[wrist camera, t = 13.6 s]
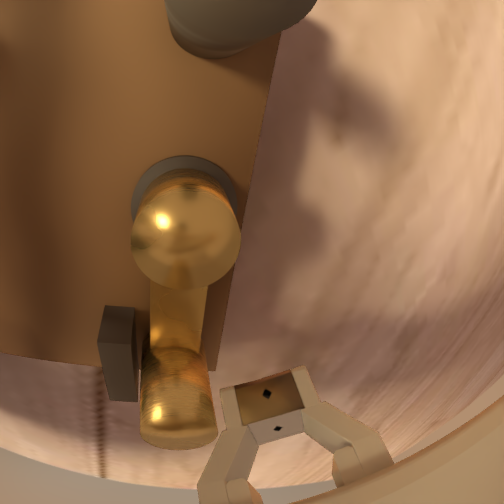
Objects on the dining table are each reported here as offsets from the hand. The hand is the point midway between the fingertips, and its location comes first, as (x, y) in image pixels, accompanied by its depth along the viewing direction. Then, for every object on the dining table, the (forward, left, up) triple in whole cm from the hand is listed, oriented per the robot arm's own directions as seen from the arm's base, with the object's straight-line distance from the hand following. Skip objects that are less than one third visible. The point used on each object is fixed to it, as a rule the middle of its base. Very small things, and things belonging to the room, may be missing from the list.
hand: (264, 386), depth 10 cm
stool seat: (-9, +5, -6) cm, 12 cm away
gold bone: (-3, +2, -3) cm, 5 cm away
